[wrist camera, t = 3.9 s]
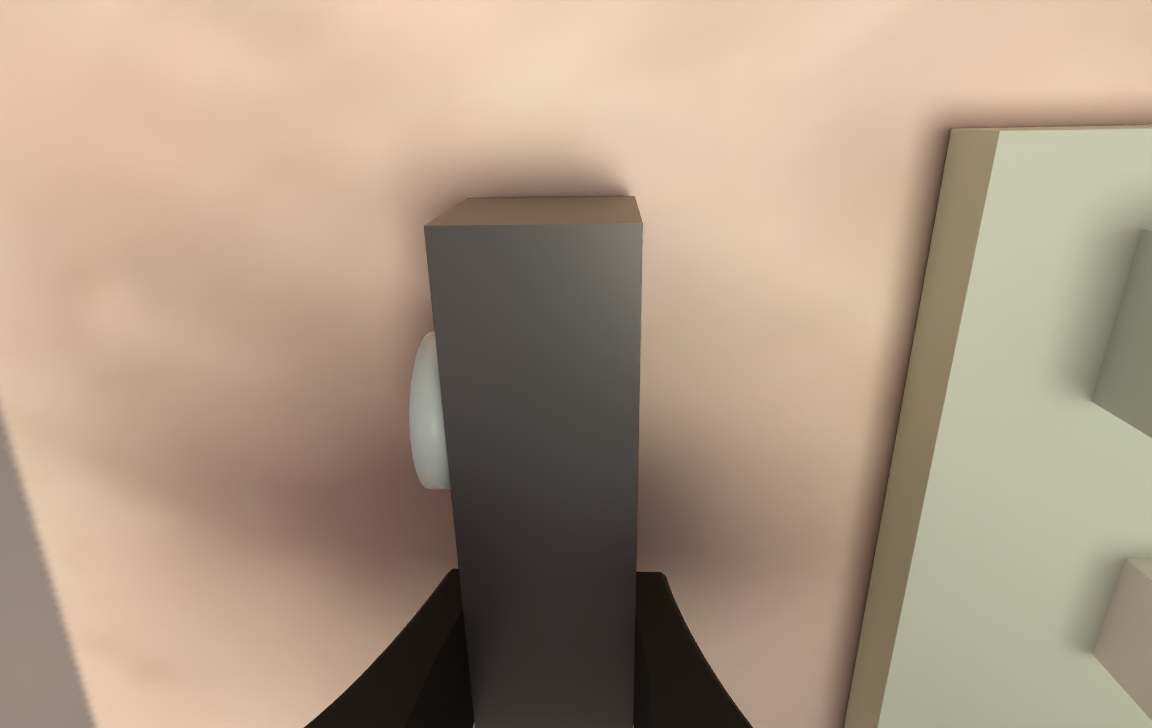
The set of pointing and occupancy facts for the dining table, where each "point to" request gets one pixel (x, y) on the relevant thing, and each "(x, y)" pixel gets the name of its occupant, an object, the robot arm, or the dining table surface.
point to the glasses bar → (538, 448)
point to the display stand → (1023, 448)
